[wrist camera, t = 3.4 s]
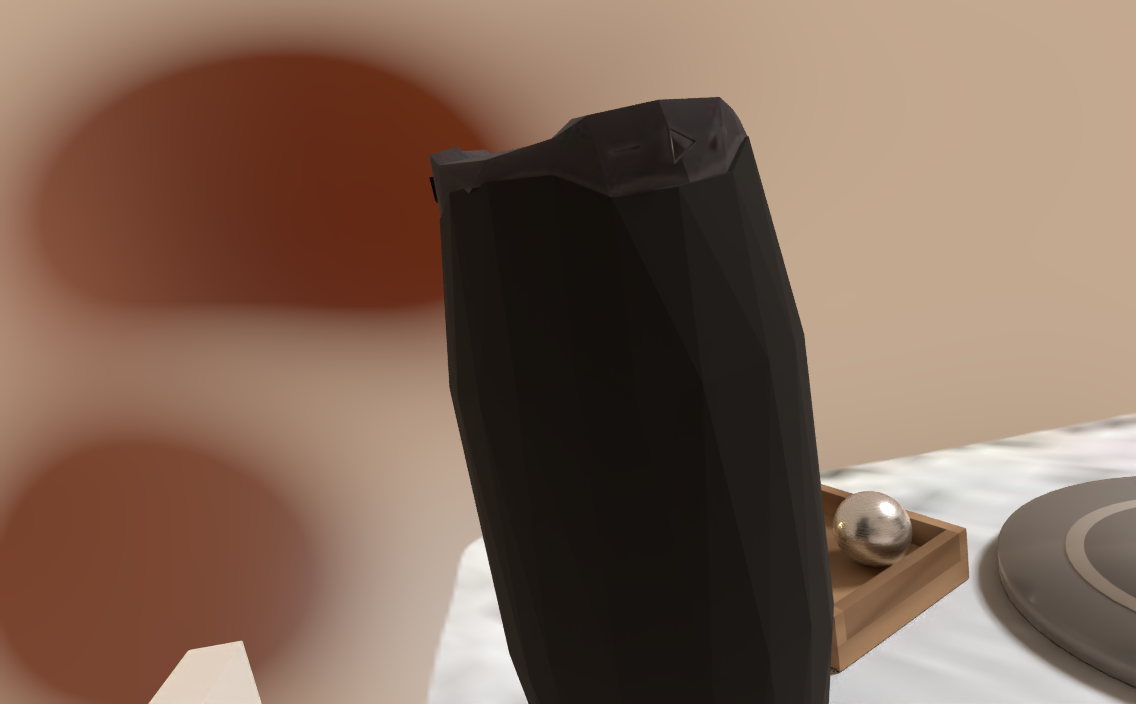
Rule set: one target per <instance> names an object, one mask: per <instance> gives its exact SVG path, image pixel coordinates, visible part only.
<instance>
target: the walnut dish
mask: <svg viewBox="0 0 1136 704" xmlns="http://www.w3.org/2000/svg"><path fill="white" fill-rule="evenodd" d="M821 491H822V500H823V509H824V518H825V527H826V536H827V545H828V554H829V563H830V572H831V581H832V590H833V599H834V615H833V633H832V652H831V667H832V668H834V669H836V670H838V671H839V672H841V671H842V670H844V669H845V668H846V667H848V666H849V665H851V664H852V663H853V662H855V661H856V660H857V659H859V658H860V657H862V656H863V655H864V654H866V653H867V652H868V651H870V650H871V649H872V648H874V647H875V646H877V645H878V644H879V643H881V642H882V641H883V640H885V639H886V638H888V637H889V636H890V635H892V634H893V633H894V632H896V631H897V630H898V629H900V628H901V627H903V626H904V625H905V624H907V623H908V622H909V621H911V620H912V619H914V618H915V617H916V616H918V615H919V614H920V613H922V612H923V611H924V610H926V609H927V608H929V607H930V606H931V605H933V604H934V603H935V602H937V601H938V600H940V599H941V598H942V597H944V596H945V595H946V594H948V593H949V592H951V591H952V590H953V589H955V588H956V587H957V586H959V585H960V584H961V583H963V582H964V581H966V580H967V579H968V578H969V565H968V549H967V533H966V528H963V527H960V526H956V525H953V524H950V523H947V522H943V521H940V520H937V519H933V518H930V517H927V516H924V515H920V514H917V513H914V512H911V511H907V510H905V511H906V512H907V514H908V516H909V518H910V521H911V525H912V540H911V543H910V546H909V548H908V550H907V551H906V553H905V554H904V555H903V556H902V557H901V558H900V559H899V560H897V561H896V562H894V563H892V564H890V565H886V566H882V567H870V566H865V565H862V564H859V563H857V562H855V561H853V560H852V559H850V558H849V557H848V556H846V555H845V553H844V552H843V551H842V550H841V549H840V547H839V546H838V544H837V542H836V540H835V537H834V533H833V518H834V515H835V512H836V510H837V508H838V507H839V505H840V504H841V503H842V502H843V501H844V500H845V499H846V498H848V497H849V496H851V495H853V494H852V493H848V492H845V491H842V490H839V489H835V488H832V487H829V486H826V485H822V484H821Z"/></svg>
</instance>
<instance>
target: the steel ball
mask: <svg viewBox="0 0 1136 704" xmlns="http://www.w3.org/2000/svg"><path fill="white" fill-rule="evenodd" d="M833 533H834V537H835V540H836V542H837V544H838V546H839V547H840V549H841V550H842V551H843V552H844V553H845V555H846V556H848V557H849V558H850V559H852V560H853V561H855V562H857V563H859V564H862V565H865V566H870V567H882V566H886V565H890V564H892V563H894V562H896V561H897V560H899V559H900V558H901V557H902V556H903V555H904V554H905V553H906V551H907V550H908V548H909V546H910V543H911V540H912V525H911V521H910V518H909V516H908V514H907V512H906V511H905V509H904V508H903V507H902V506H901V505H900V504H899V503H898V502H897V501H896V500H895V499H893V498H891V497H890V496H888V495H886V494H883V493H880V492H874V491H864V492H859V493H856V494H853V495H851V496H849V497H848V498H846V499H845V500H844V501H843V502H842V503H841V504H840V505H839V507H838V508H837V510H836V512H835V515H834V518H833Z"/></svg>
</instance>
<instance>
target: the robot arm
mask: <svg viewBox="0 0 1136 704" xmlns="http://www.w3.org/2000/svg"><path fill="white" fill-rule="evenodd" d="M149 704H261V701H260V698H259V694H258V691H257V688H256V684H255V681H254V678H253V674H252V671H251V668H250V665H249V661H248V658H247V655H246V652H245V648H244V645H243V642H242V641H238V642H232V643H227V644H221V645H215V646H210V647H205V648H199V649H193V650H189V651H188V652H187V653H186V655H185V656H184V657H183V659H182V660H181V661H180V663H179V664H178V666H177V667H176V668H175V669H174V671H173V672H172V673H171V675H170V676H169V677H168V679H167V680H166V681H165V683H164V684H163V685H162V687H161V688H160V689H159V691H158V692H157V693H156V695H155V696H154V697H153V699H152V700H151V701H150V703H149Z"/></svg>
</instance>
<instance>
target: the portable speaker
mask: <svg viewBox="0 0 1136 704" xmlns="http://www.w3.org/2000/svg"><path fill="white" fill-rule="evenodd" d="M429 157H430V162H431V167H432V172H433V177H430V182H431V185H432V189H433V193H434V197H435V201H436V202H437V203H438V204H439V209H440V215H441V218H440V233H441V250H442V267H443V284H444V302H445V318H446V334H447V335H446V336H447V352H448V370H449V386H450V392H451V396H452V401H453V405H454V410H455V414H456V419H457V423H458V427H459V432H460V436H461V440H462V445H463V449H464V454H465V459H466V463H467V468H468V472H469V476H470V481H471V485H472V490H473V494H474V499H475V503H476V507H477V512H478V516H479V521H480V525H481V530H482V534H483V539H484V543H485V547H486V552H487V556H488V561H489V565H490V570H491V574H492V579H493V583H494V587H495V592H496V596H497V601H498V605H499V610H500V614H501V619H502V623H503V627H504V632H505V636H506V641H507V645H508V650H509V654H510V657H511V659H512V662H513V664H514V667H515V670H516V672H517V675H518V677H519V680H520V683H521V685H522V688H523V690H524V693H525V696H526V698H527V701H528V703H529V704H829V689H830V670H831V652H832V633H833V615H834V599H833V590H832V581H831V572H830V563H829V554H828V545H827V536H826V527H825V518H824V509H823V500H822V491H821V482H820V473H819V464H818V455H817V447H816V437H815V429H814V419H813V410H812V401H811V393H810V383H809V374H808V365H807V356H806V348H805V338H804V332H803V328H802V325H801V321H800V318H799V314H798V311H797V307H796V303H795V300H794V296H793V293H792V289H791V286H790V282H789V279H788V275H787V272H786V268H785V264H784V261H783V257H782V254H781V250H780V247H779V243H778V240H777V236H776V232H775V229H774V225H773V222H772V218H771V215H770V211H769V208H768V204H767V200H766V197H765V193H764V190H763V186H762V183H761V179H760V175H759V172H758V169H757V165H756V161H755V158H754V154H753V151H752V147H751V144H750V140H749V137H748V136H747V134H746V132H745V130H744V128H743V126H742V124H741V121H740V120H739V118H738V116H737V115H736V113H735V112H734V110H733V109H732V108H731V107H730V106H729V105H728V104H727V103H725V102H724V101H723V100H722V99H721V98H720V97H710V98H688V99H665V100H655V101H651V102H646V103H641V104H637V105H632V106H628V107H623V108H619V109H614V110H609V111H605V112H600V113H595V114H591V115H586V116H583V117H579V118H575V119H571V120H570V121H569V122H568V123H567V124H566V125H565V126H564V127H563V128H562V129H561V130H560V131H559V132H558V133H557V134H556V135H555V136H554V137H553V138H552V139H549V140H546V141H543V142H540V143H537V144H534V145H530V146H527V147H522V148H517V149H513V150H508V151H503V152H498V153H493V154H490V153H489V152H488V151H487V150H476V151H465V152H463V151H461V149H460V148H459V147H455V148H451V149H448V150H445V151H442V152H439V153H436V154H432V155H429Z"/></svg>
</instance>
